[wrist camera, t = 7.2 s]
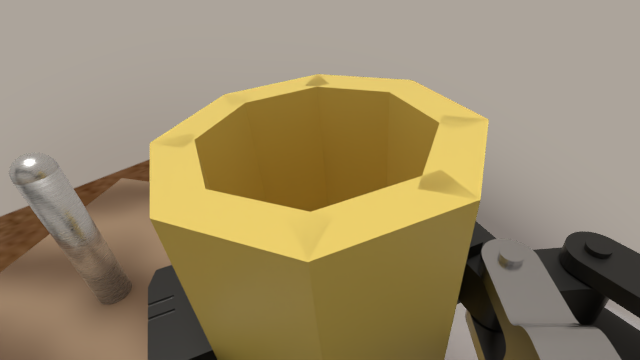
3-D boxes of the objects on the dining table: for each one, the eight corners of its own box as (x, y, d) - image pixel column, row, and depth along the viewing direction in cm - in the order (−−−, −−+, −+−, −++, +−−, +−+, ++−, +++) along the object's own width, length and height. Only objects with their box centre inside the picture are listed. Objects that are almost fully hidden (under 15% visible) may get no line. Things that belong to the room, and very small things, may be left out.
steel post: (117, 310, 20) (18, 169, 14) (93, 303, 20) (-11, 165, 15) (139, 284, 21) (57, 146, 16) (116, 278, 22) (29, 143, 16)
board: (113, 634, 11) (96, 631, 10) (-182, 442, 17) (-206, 431, 16) (317, 216, 26) (315, 204, 26) (127, 189, 32) (122, 178, 31)
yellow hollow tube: (419, 548, 10) (509, 301, 3) (229, 470, 12) (55, 211, 5) (433, 346, 14) (483, 79, 8) (296, 312, 16) (247, 71, 10)
